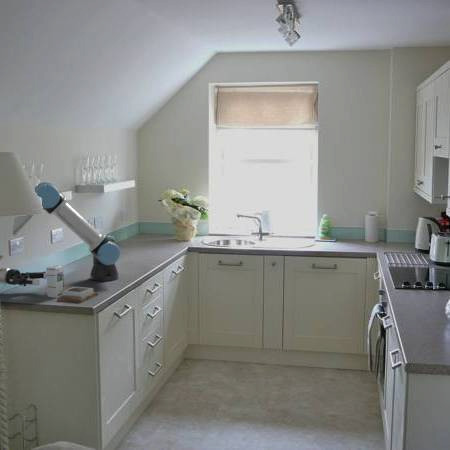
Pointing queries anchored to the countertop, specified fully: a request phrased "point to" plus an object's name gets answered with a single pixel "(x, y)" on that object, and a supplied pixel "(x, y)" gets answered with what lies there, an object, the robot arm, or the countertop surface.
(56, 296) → the syrup box
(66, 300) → the carrier plate
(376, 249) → the countertop surface
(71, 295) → the socket collar
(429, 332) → the countertop surface
